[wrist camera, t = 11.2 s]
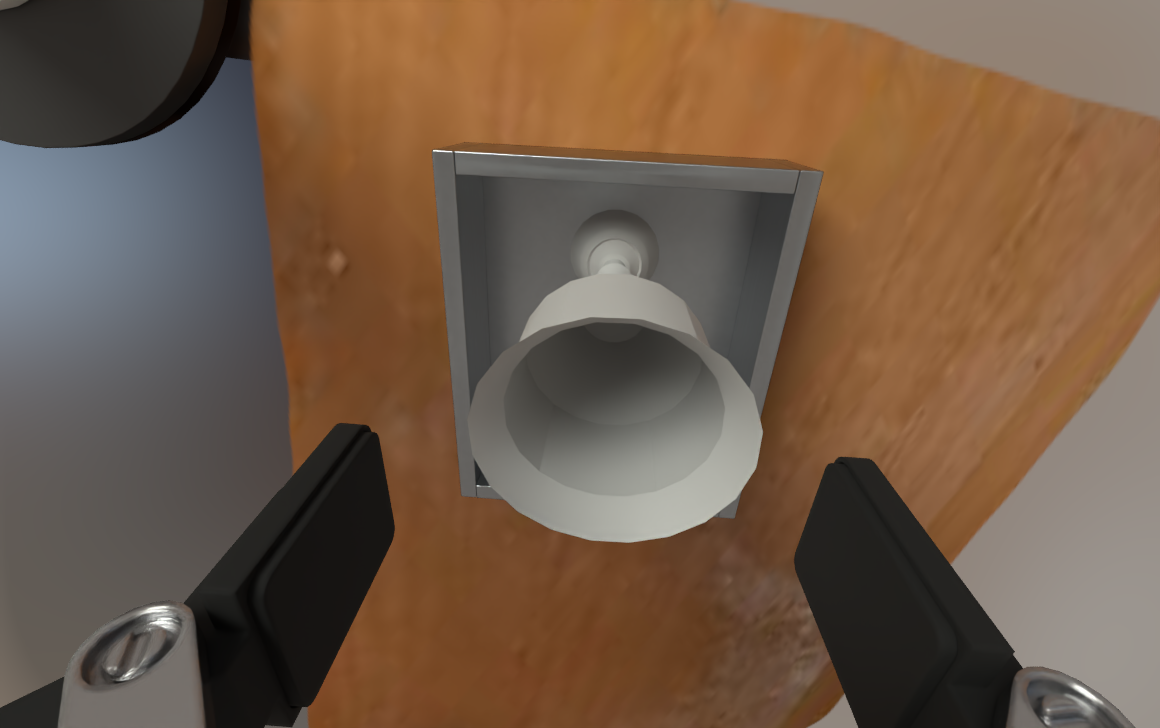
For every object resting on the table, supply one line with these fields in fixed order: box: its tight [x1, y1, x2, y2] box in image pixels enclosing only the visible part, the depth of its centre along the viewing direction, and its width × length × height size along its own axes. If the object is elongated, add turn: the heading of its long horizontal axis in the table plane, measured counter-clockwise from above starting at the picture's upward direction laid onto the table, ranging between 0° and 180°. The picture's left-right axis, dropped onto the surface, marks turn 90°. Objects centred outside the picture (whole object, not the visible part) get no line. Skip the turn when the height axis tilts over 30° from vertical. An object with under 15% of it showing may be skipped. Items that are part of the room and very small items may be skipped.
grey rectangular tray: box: [432, 142, 823, 519], centre depth 28 cm, size 17×20×5 cm
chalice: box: [467, 210, 763, 543], centre depth 20 cm, size 7×7×18 cm
